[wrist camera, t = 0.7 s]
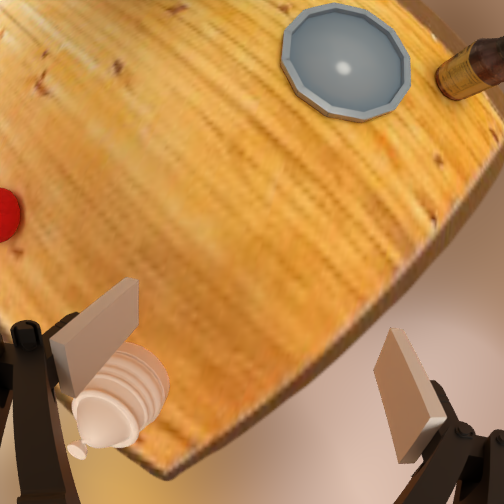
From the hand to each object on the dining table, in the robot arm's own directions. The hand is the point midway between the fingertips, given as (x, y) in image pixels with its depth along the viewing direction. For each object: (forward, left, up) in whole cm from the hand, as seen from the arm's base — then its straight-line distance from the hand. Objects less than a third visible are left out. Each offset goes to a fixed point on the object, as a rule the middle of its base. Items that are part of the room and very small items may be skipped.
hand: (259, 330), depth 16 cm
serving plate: (-27, +9, -27) cm, 39 cm away
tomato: (-1, -42, -27) cm, 50 cm away
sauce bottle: (-28, +26, -27) cm, 47 cm away
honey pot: (+23, -18, -27) cm, 40 cm away
